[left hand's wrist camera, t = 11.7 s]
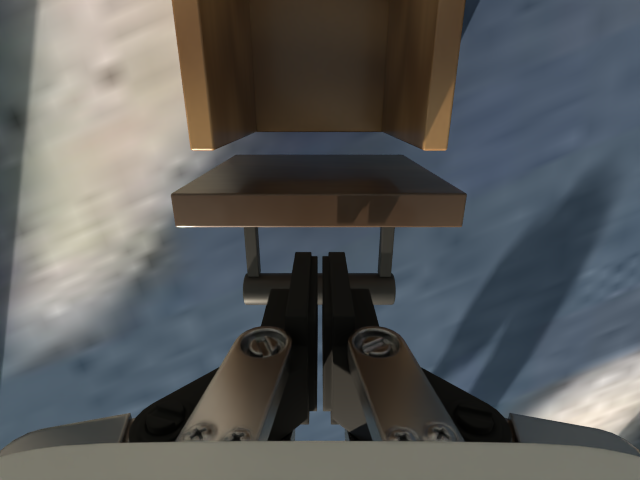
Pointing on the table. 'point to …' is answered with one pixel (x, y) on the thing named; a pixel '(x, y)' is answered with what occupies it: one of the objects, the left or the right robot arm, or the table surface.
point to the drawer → (318, 119)
